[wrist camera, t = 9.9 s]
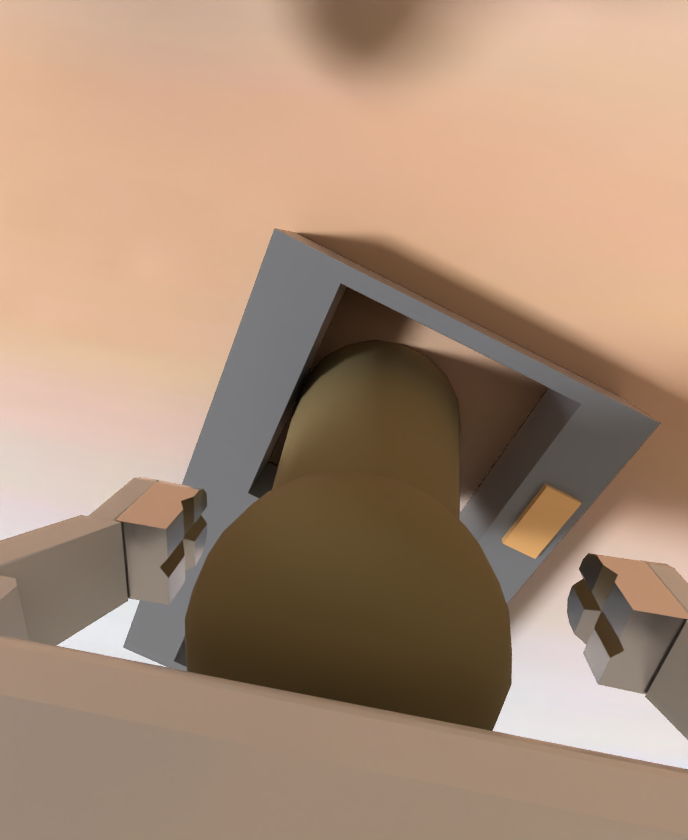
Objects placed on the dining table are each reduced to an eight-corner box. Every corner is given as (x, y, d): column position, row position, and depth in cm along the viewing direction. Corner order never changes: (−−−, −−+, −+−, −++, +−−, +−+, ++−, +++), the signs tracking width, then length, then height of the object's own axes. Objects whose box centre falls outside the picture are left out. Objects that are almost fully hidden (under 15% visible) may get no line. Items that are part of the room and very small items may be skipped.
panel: (377, 706, 21) (374, 763, 19) (153, 604, 21) (120, 651, 18) (620, 396, 14) (664, 425, 12) (295, 232, 14) (272, 227, 11)
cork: (487, 371, 15) (689, 647, 4) (425, 513, 17) (463, 908, 7) (318, 317, 15) (131, 469, 4) (279, 466, 17) (98, 790, 7)
